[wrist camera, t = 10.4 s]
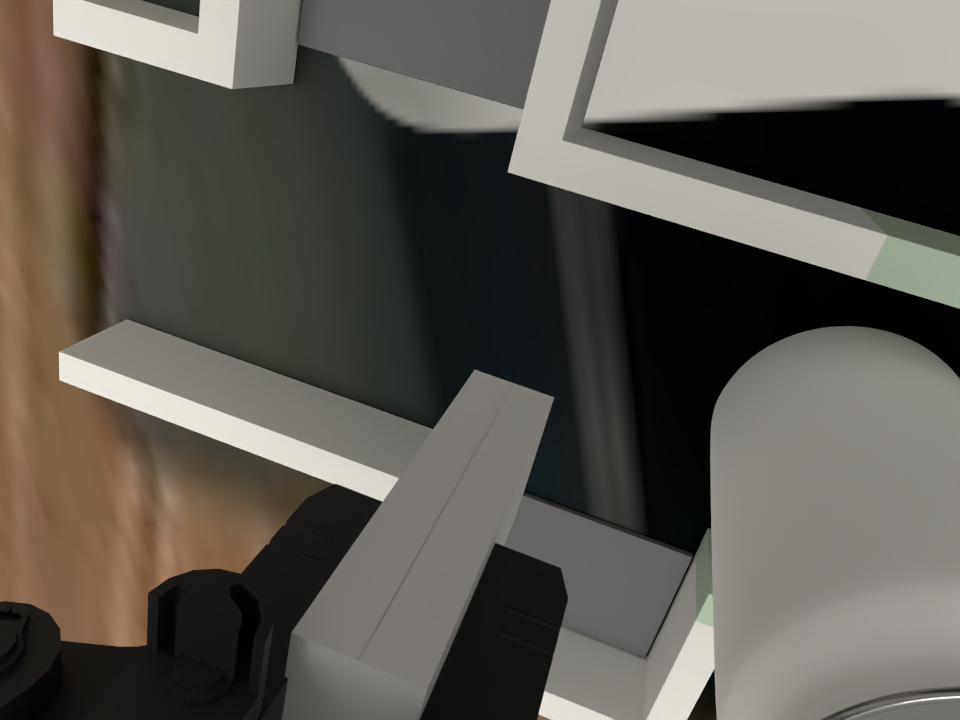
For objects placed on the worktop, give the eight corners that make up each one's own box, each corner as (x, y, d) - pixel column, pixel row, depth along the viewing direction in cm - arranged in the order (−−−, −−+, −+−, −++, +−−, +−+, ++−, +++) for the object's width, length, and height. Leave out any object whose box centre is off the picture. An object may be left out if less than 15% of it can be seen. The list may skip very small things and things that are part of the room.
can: (721, 310, 20) (747, 620, 9) (999, 329, 18) (1430, 733, 7) (698, 515, 22) (695, 949, 12) (940, 548, 21) (1199, 1088, 10)
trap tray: (122, 473, 28) (61, 519, 25) (143, -243, 18) (48, -292, 16) (878, 771, 24) (900, 862, 21) (1406, 53, 14) (1567, 56, 12)
